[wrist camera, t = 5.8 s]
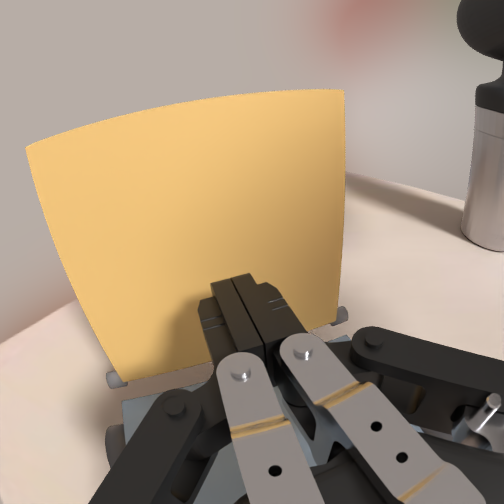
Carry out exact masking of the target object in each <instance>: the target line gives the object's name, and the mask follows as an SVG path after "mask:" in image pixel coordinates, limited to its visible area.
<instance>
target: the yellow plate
mask: <svg viewBox="0 0 504 504" xmlns="http://www.w3.org/2000/svg"><path fill="white" fill-rule="evenodd" d="M25 149H26V153H27V157H28V161H29V165H30V169H31V172H32V176H33V180H34V184H35V187H36V190H37V194H38V197H39V200H40V203H41V206H42V209H43V213H44V216H45V219H46V221H47V224H48V227H49V230H50V233H51V236H52V238H53V241H54V244H55V246H56V249H57V251H58V254H59V256H60V259H61V261H62V264H63V266H64V269H65V271H66V273H67V276H68V278H69V280H70V283H71V285H72V287H73V289H74V291H75V294H76V296H77V298H78V300H79V302H80V304H81V306H82V309H83V311H84V313H85V315H86V317H87V319H88V321H89V323H90V325H91V326H92V328H93V330H94V332H95V334H96V336H97V338H98V340H99V342H100V343H101V345H102V347H103V349H104V351H105V352H106V354H107V356H108V358H109V359H110V361H111V363H112V365H113V366H114V368H115V370H116V371H113V372H108V373H106V379H107V383H108V385H109V387H110V388H111V389H114V388H119V387H124V386H127V385H128V381H132V380H137V379H141V378H146V377H150V376H155V375H159V374H163V373H167V372H172V371H176V370H180V369H184V368H188V367H191V366H195V365H199V364H203V363H207V362H210V361H212V359H211V356H210V353H209V350H208V347H207V344H206V341H205V337H204V334H203V330H202V326H201V322H200V319H199V315H198V311H197V310H198V306H199V303H200V300H202V299H206V298H210V297H213V296H212V292H211V287H210V283H212V282H216V281H220V280H224V279H228V278H231V277H235V276H239V275H242V274H246V273H250V274H251V275H252V277H253V279H254V280H255V282H256V283H257V284H261V283H264V282H268V283H269V284H271V285H273V286H274V287H276V288H277V289H278V290H279V292H280V293H281V295H282V296H283V299H285V300H286V302H287V303H288V306H290V308H291V309H292V311H293V312H294V314H295V315H296V316H297V318H298V319H299V321H300V322H301V324H302V325H303V327H304V328H305V329H306V331H309V330H312V329H315V328H318V327H321V326H323V325H326V324H329V323H330V324H331V325H332V326H334V325H337V324H340V323H342V322H345V321H347V320H348V312H347V310H346V308H345V307H344V306H341V307H338V297H339V286H340V274H341V260H342V245H343V227H344V203H345V106H344V90H335V89H309V90H287V91H271V92H258V93H248V94H239V95H230V96H223V97H215V98H208V99H201V100H195V101H189V102H183V103H177V104H172V105H167V106H162V107H157V108H152V109H148V110H143V111H139V112H134V113H130V114H126V115H122V116H118V117H114V118H110V119H106V120H103V121H99V122H96V123H92V124H89V125H85V126H82V127H79V128H75V129H72V130H69V131H66V132H63V133H60V134H57V135H54V136H52V137H49V138H46V139H43V140H40V141H38V142H35V143H33V144H31V145H29V146H27V147H25ZM337 307H338V308H337Z"/></svg>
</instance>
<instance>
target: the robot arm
mask: <svg viewBox="0 0 504 504" xmlns="http://www.w3.org/2000/svg"><path fill="white" fill-rule="evenodd" d="M457 25H458V29H459V32H460V34H461V36H462V38H463V39H464V41H465V42H466V43H467V44H468V45H469V46H470V47H472V48H473V49H474V50H476V51H477V52H479V53H481V54H483V55H485V56H488V57H491V58H494V59H498V60H501V61H503V70H502V75H501V77H500V78H498V79H497V80H495V81H493V82H490V83H485V84H480V85H479V86H478V87H477V88H476V95H475V97H476V98H475V104H476V105H477V106H475V126H474V128H475V129H474V141H473V152H472V161H471V169H470V176H469V183H468V190H467V196H466V201H465V206H464V212H463V217H462V222H461V230H462V232H463V234H464V235H465V236H466V237H467V238H468V239H470V240H471V241H473V242H474V243H476V244H478V245H480V246H482V247H485V248H488V249H491V250H495V251H503V252H504V0H461V2H460V5H459V7H458V11H457ZM210 287H211V292H212V296H213V297H210V298H206V299H202V300H200V303H199V306H198V310H197V311H198V315H199V319H200V322H201V326H202V330H203V334H204V337H205V341H206V344H207V347H208V350H209V353H210V356H211V359H212V362H213V365H214V371H213V374H212V376H211V378H210V379H209V380H208V381H207V382H206V383H205V384H204V385H202V386H201V387H199V388H198V389H196V390H194V391H192V392H191V391H188V390H185V389H172V390H169V391H166V392H164V393H162V394H161V395H160V396H159V397H158V398H157V399H156V400H155V401H154V403H153V404H152V406H151V407H150V409H149V411H148V412H147V414H146V415H145V417H144V418H143V420H142V421H141V423H140V424H139V426H138V428H137V429H136V431H135V432H134V434H133V435H132V437H131V438H130V440H129V441H128V443H127V445H126V446H125V448H124V449H123V451H122V452H121V454H120V455H119V457H118V458H117V460H116V462H115V463H114V465H113V466H112V468H111V469H110V471H109V472H108V474H107V476H106V477H105V479H104V480H103V482H102V483H101V485H100V486H99V488H98V489H97V491H96V493H95V494H94V496H93V497H92V499H91V500H90V502H89V503H88V504H193V503H194V501H195V499H196V497H197V495H198V493H199V491H200V489H201V487H202V485H203V483H204V481H205V479H206V477H207V475H208V473H209V471H210V469H211V467H212V465H213V463H214V461H215V459H216V457H217V455H218V452H219V450H221V449H222V448H224V447H225V446H227V445H228V444H230V443H231V442H233V446H234V450H235V453H236V457H237V460H238V464H239V468H240V471H241V475H242V478H243V481H244V485H245V488H246V492H247V493H246V494H244V495H243V496H242V497H240V498H239V499H238V500H237V501H236V502H235V503H234V504H504V361H502V360H498V359H494V358H490V357H486V356H482V355H478V354H474V353H471V352H467V351H463V350H459V349H455V348H452V347H448V346H444V345H440V344H437V343H433V342H429V341H426V340H422V339H418V338H415V337H411V336H408V335H404V334H401V333H397V332H394V331H390V330H387V329H383V328H380V327H374V326H370V327H364V328H361V329H359V330H358V331H357V332H356V333H355V334H354V335H353V338H352V340H351V341H342V342H323V341H322V340H321V339H320V338H319V337H317V336H315V335H313V334H309V333H308V332H307V331H306V329H305V328H304V327H303V325H302V324H301V322H300V321H299V319H298V318H297V316H296V315H295V314H294V312H293V311H292V309H291V308H290V306H288V303H287V302H286V300H285V299H283V296H282V295H281V293H280V292H279V290H278V289H277V288H276V287H274V286H273V285H271V284H269V283H268V282H264V283H261V284H257V283H256V282H255V280H254V279H253V277H252V275H251V274H250V273H246V274H242V275H239V276H235V277H231V278H228V279H224V280H220V281H216V282H212V283H210ZM276 386H278V388H279V390H280V392H281V394H282V403H283V405H284V407H285V409H286V410H287V412H288V414H289V415H290V417H291V418H292V420H293V421H294V423H295V425H296V426H297V428H298V429H299V431H300V432H301V434H302V435H303V437H304V439H305V440H306V442H307V443H308V445H309V447H310V449H311V453H312V456H313V459H314V461H315V463H316V464H317V466H312V467H309V465H308V463H307V460H306V458H305V456H304V453H303V451H302V448H301V446H300V443H299V441H298V439H297V436H296V434H295V431H294V429H293V427H292V424H291V422H290V421H289V419H288V418H285V416H284V414H283V412H282V410H281V407H280V404H279V402H278V399H277V397H276V394H275V392H274V389H273V387H276ZM410 424H412V425H415V426H419V427H423V428H426V429H430V430H434V431H438V432H442V433H446V434H450V435H452V437H453V440H452V441H449V440H446V439H442V438H439V437H435V436H432V435H429V434H425V433H422V432H417V431H415V429H414V428H413V427H412V426H411V425H410Z"/></svg>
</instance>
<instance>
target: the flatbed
mask: <svg viewBox="0 0 504 504" xmlns="http://www.w3.org/2000/svg"><path fill="white" fill-rule="evenodd" d="M342 341H351V340H350V338H349V337H348V336H347V335H344V336H342V337H339V338H336V339H334V340H331V341H329V342H342ZM206 382H207V381H206ZM206 382H202V383H199V384H195V385H191V386H187V387H183V388H179V389H185V390H188V391H191V392H192V391H194V390H196V389H198V388H199V387H201V386H202V385H204V384H205V383H206ZM273 389H274V392H275V394H276V397H277V399H278V402H279V404H280V407H281V410H282V412H283V414H284V416H285V418H288V419H289V421H290V422H291V424H292V427H293V429H294V431H295V434H296V436H297V439H298V441H299V443H300V446H301V448H302V451H303V453H304V456H305V458H306V460H307V463H308V465H309V467H312V466H317V464H316V463H315V461H314V459H313V456H312V453H311V449H310V447H309V445H308V443H307V442H306V440H305V439H304V437H303V435H302V434H301V432H300V431H299V429H298V428H297V426H296V425H295V423H294V421H293V420H292V418H291V417H290V415H289V414H288V412H287V410H286V409H285V407H284V405H283V403H282V394H281V392H280V390H279V388H278V386H276V387H273ZM162 393H164V392H162ZM162 393H158V394H153V395H149V396H144V397H139V398H134V399H129V400H124V401H122V411H123V423H124V424H121V425H114V426H110V427H108V429H107V431H106V436H105V446H106V453H107V458H108V461H109V465H110V468H112V466H113V465H114V463H115V462H116V460H117V458H118V457H119V455H120V454H121V452H122V451H123V449H124V448H125V446H126V445H127V443H128V441H129V440H130V438H131V437H132V435H133V434H134V432H135V431H136V429H137V428H138V426H139V424H140V423H141V421H142V420H143V418H144V417H145V415H146V414H147V412H148V411H149V409H150V407H151V406H152V404H153V403H154V401H155V400H156V399H157V398H158V397H159V396H160V395H161V394H162ZM410 425H411V426H412V427H413V428H414V429H415V431H417V432H422V433H425V434H429V435H432V436H435V437H439V438H442V439H446V440H449V441H452V440H453V437H452V435H450V434H446V433H442V432H438V431H434V430H430V429H426V428H423V427H419V426H415V425H412V424H410ZM246 493H247V492H246V488H245V485H244V481H243V478H242V475H241V471H240V468H239V464H238V460H237V457H236V453H235V450H234V446H233V442H231V443H230V444H228V445H227V446H225V447H224V448H222V449H221V450H219V452H218V455H217V457H216V459H215V461H214V463H213V465H212V467H211V469H210V471H209V473H208V475H207V477H206V479H205V481H204V483H203V485H202V487H201V489H200V491H199V493H198V495H197V497H196V499H195V501H194V503H193V504H234V503H235V502H236V501H237V500H238V499H239V498H240V497H242V496H243V495H244V494H246Z"/></svg>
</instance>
